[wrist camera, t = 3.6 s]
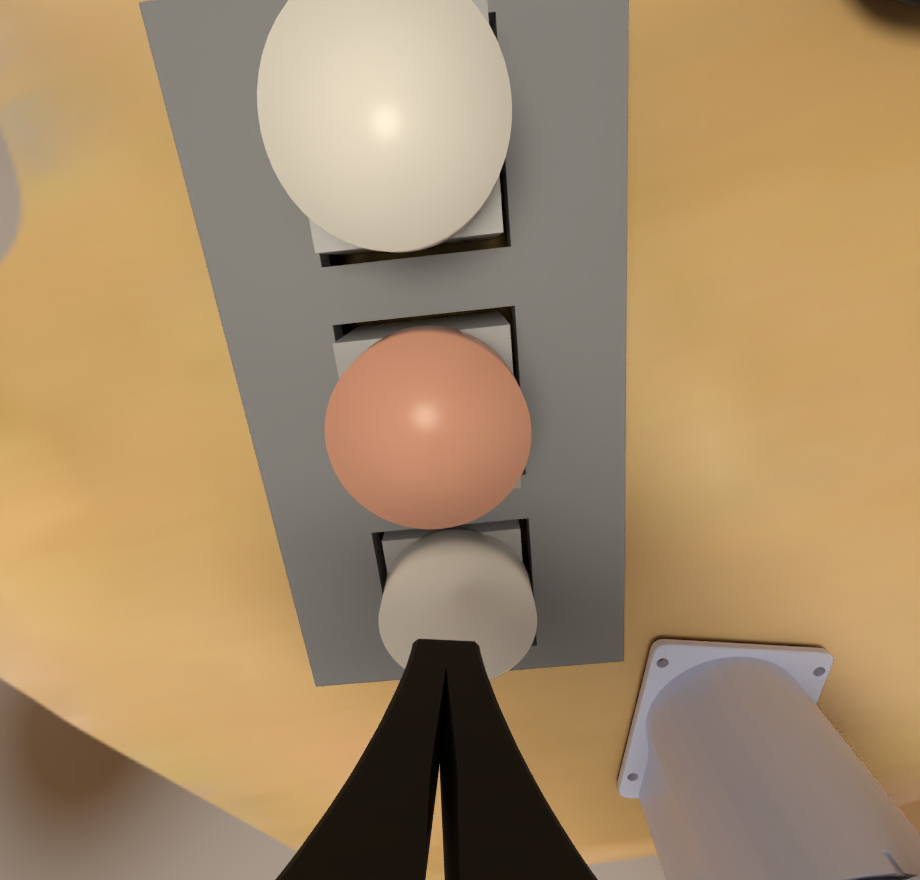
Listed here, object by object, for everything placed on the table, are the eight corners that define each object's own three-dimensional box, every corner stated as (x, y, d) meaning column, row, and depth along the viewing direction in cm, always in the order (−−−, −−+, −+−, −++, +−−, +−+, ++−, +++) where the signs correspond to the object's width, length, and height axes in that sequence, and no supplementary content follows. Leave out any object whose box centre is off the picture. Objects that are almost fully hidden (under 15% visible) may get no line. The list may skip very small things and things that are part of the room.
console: (594, 590, 21) (623, 661, 18) (340, 612, 22) (315, 686, 18) (585, 20, 15) (629, -62, 11) (218, 67, 15) (138, 2, 11)
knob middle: (515, 448, 17) (536, 520, 12) (375, 462, 17) (344, 538, 13) (505, 303, 15) (525, 322, 11) (351, 320, 16) (305, 345, 11)
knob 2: (522, 583, 21) (541, 679, 16) (406, 593, 21) (391, 691, 16) (514, 476, 19) (532, 548, 14) (389, 489, 19) (366, 563, 14)
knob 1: (500, 244, 15) (520, 237, 10) (341, 262, 15) (287, 263, 10) (486, 52, 13) (502, -63, 9) (308, 74, 13) (228, -27, 9)
